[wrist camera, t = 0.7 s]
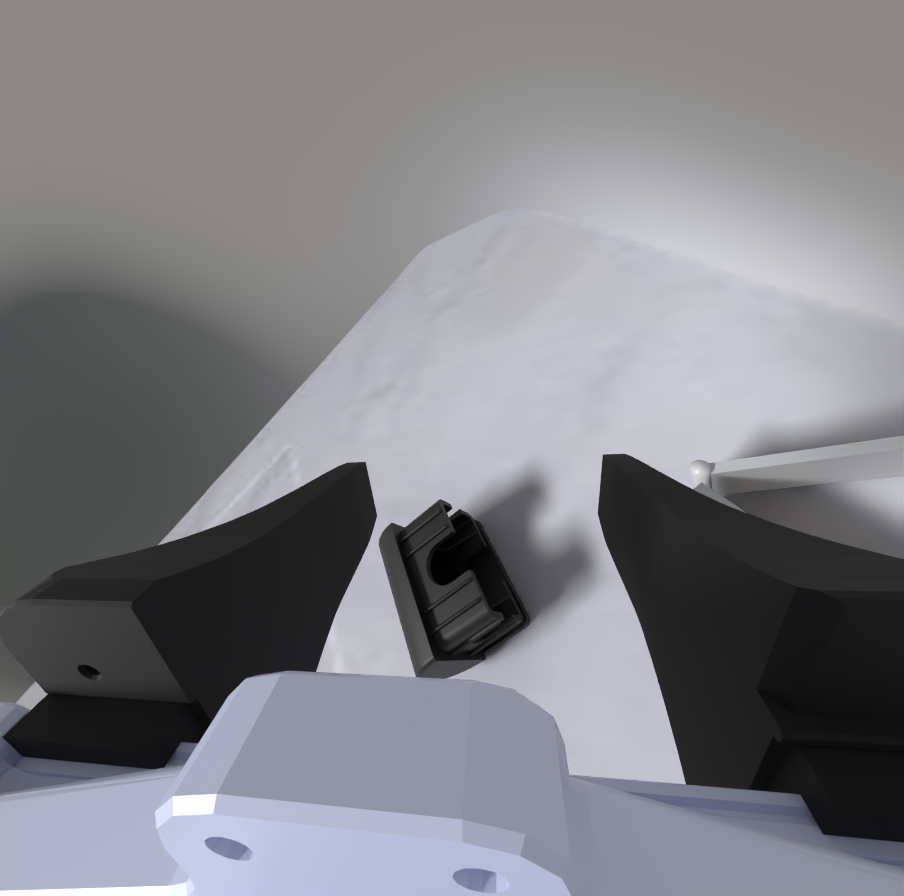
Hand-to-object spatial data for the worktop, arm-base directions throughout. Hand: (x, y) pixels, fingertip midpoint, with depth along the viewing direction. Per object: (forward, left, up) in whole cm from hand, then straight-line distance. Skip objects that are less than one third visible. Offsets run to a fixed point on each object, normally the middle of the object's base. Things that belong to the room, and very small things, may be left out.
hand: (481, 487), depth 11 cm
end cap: (+6, +9, -18) cm, 21 cm away
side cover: (-3, -10, -17) cm, 20 cm away
